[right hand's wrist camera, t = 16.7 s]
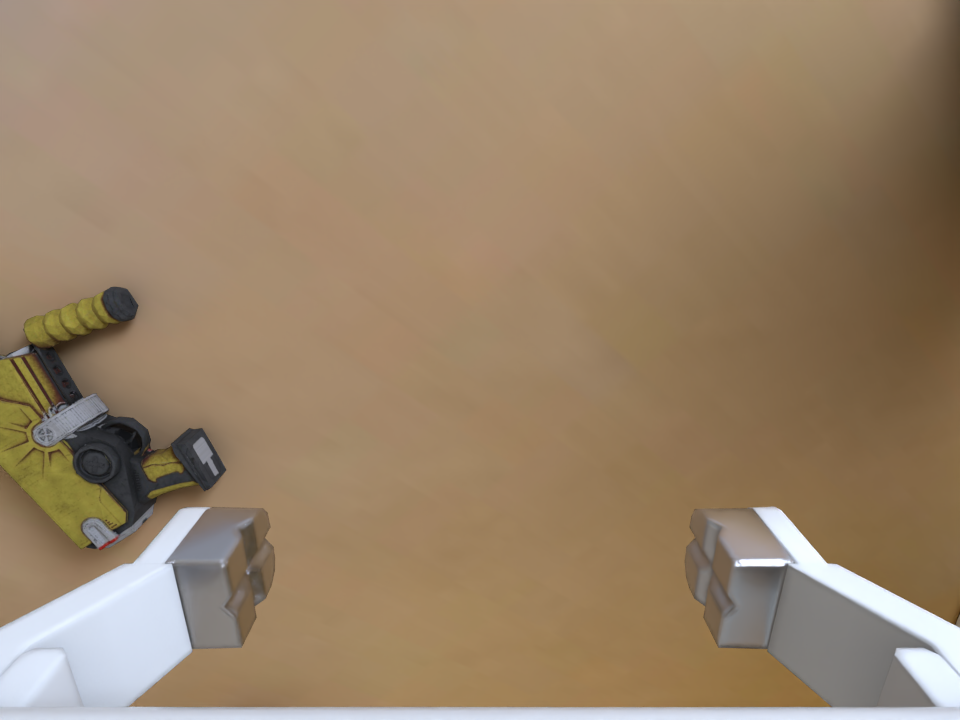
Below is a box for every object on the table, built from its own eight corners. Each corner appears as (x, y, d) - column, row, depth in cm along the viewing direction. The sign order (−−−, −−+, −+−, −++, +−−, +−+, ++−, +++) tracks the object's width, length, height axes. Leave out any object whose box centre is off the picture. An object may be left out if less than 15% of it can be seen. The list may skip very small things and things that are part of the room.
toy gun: (3, 174, 35) (-176, 299, 36) (244, 469, 41) (84, 567, 42) (55, 178, 39) (-106, 289, 40) (265, 443, 45) (119, 532, 47)
